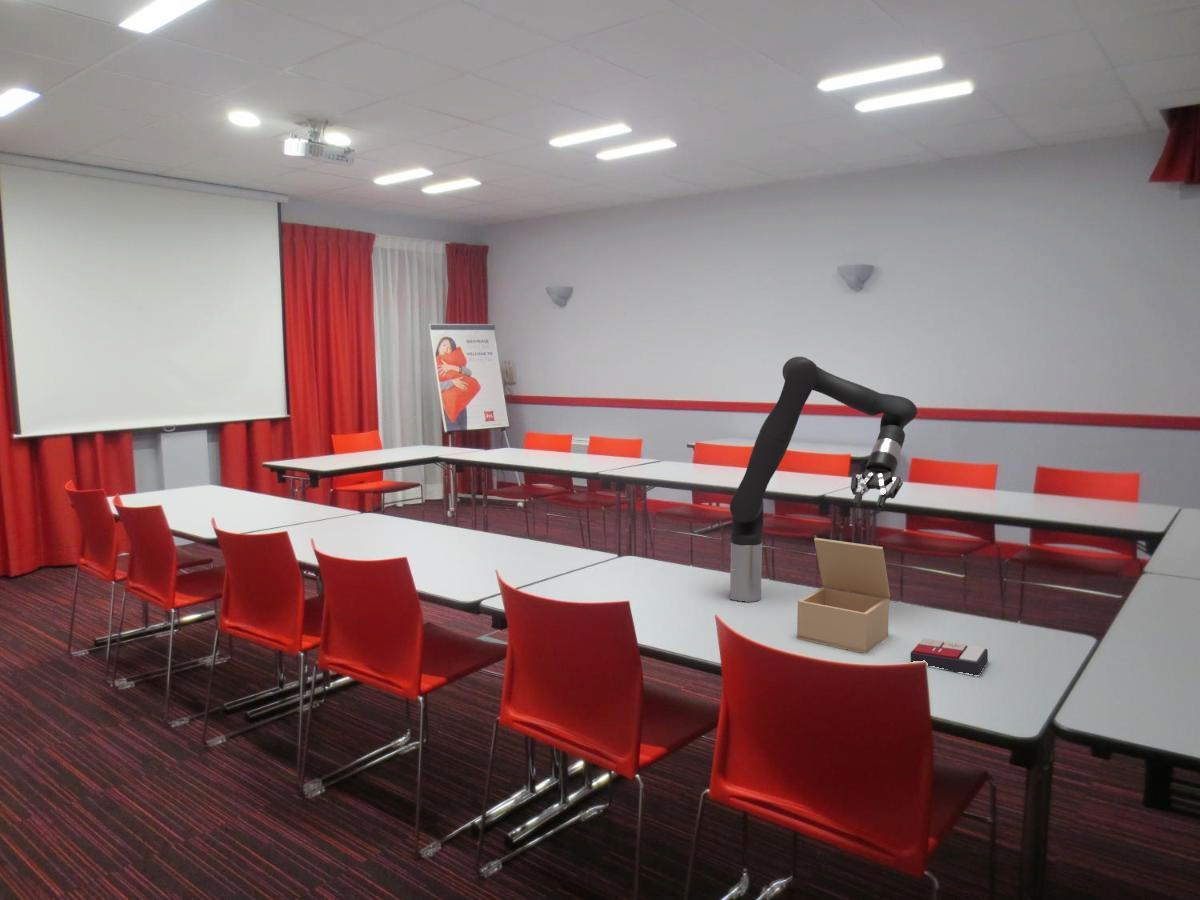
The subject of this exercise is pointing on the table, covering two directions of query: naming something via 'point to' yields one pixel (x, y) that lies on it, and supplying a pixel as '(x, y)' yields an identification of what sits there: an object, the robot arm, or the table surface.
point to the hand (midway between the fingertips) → (867, 506)
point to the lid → (852, 567)
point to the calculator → (951, 656)
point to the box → (843, 619)
